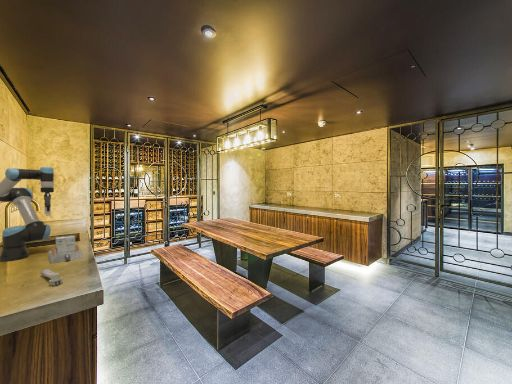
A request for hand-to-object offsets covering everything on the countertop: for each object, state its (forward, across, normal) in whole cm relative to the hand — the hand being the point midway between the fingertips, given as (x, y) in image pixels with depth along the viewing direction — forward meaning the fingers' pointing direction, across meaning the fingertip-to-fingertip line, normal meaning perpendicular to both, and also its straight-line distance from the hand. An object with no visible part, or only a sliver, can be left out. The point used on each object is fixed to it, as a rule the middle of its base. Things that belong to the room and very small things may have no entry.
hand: (47, 215), depth 173 cm
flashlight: (+32, +61, -2) cm, 69 cm away
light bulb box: (+27, +14, +9) cm, 32 cm away
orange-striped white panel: (+32, +16, +9) cm, 36 cm away
